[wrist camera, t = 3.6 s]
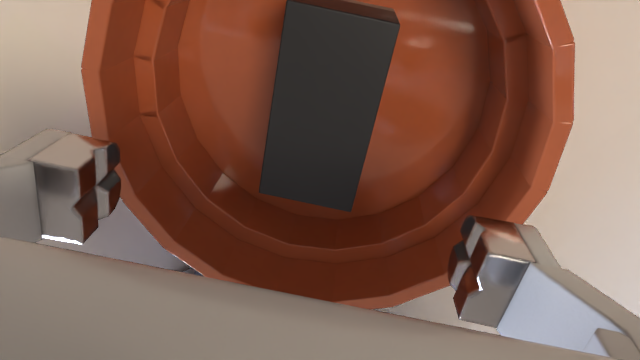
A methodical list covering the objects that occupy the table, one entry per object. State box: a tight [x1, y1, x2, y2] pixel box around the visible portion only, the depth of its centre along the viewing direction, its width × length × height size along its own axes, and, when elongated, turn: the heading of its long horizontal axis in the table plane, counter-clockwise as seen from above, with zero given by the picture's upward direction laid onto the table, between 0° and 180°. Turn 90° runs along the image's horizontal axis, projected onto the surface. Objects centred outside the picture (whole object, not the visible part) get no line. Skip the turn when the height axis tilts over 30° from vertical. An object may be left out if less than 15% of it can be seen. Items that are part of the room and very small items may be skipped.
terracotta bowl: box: [81, 0, 575, 309], centre depth 17 cm, size 15×15×6 cm
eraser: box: [259, 0, 400, 212], centre depth 17 cm, size 7×4×4 cm, turn 169°
